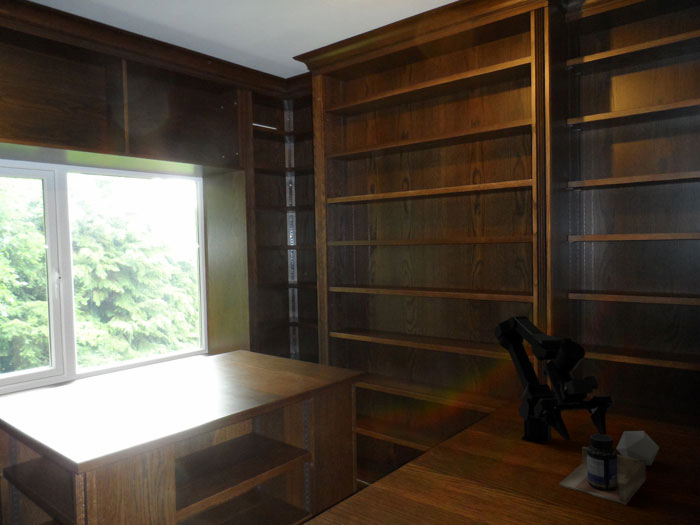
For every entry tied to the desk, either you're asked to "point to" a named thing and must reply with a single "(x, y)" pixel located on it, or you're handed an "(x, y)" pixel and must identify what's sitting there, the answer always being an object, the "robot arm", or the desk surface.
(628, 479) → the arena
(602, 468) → the pill bottle
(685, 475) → the desk surface
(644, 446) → the grey polyhedron
